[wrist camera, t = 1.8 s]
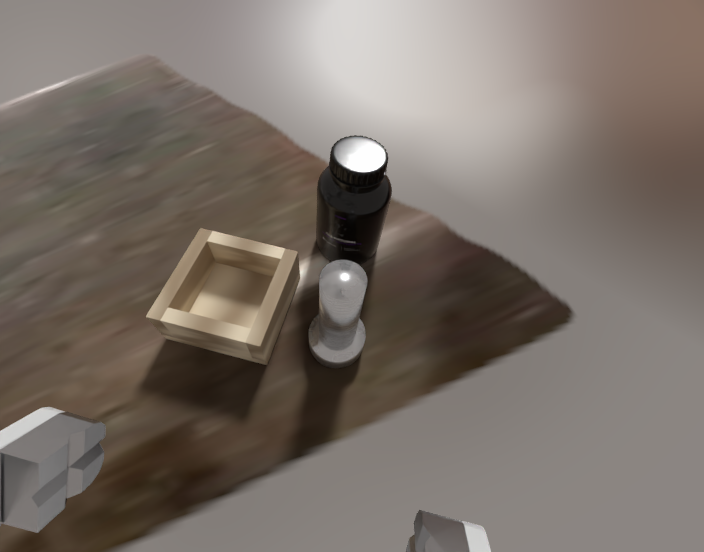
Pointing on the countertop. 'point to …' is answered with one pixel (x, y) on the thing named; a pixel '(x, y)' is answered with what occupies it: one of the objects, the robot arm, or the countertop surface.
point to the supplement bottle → (353, 200)
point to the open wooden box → (228, 296)
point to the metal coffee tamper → (339, 315)
